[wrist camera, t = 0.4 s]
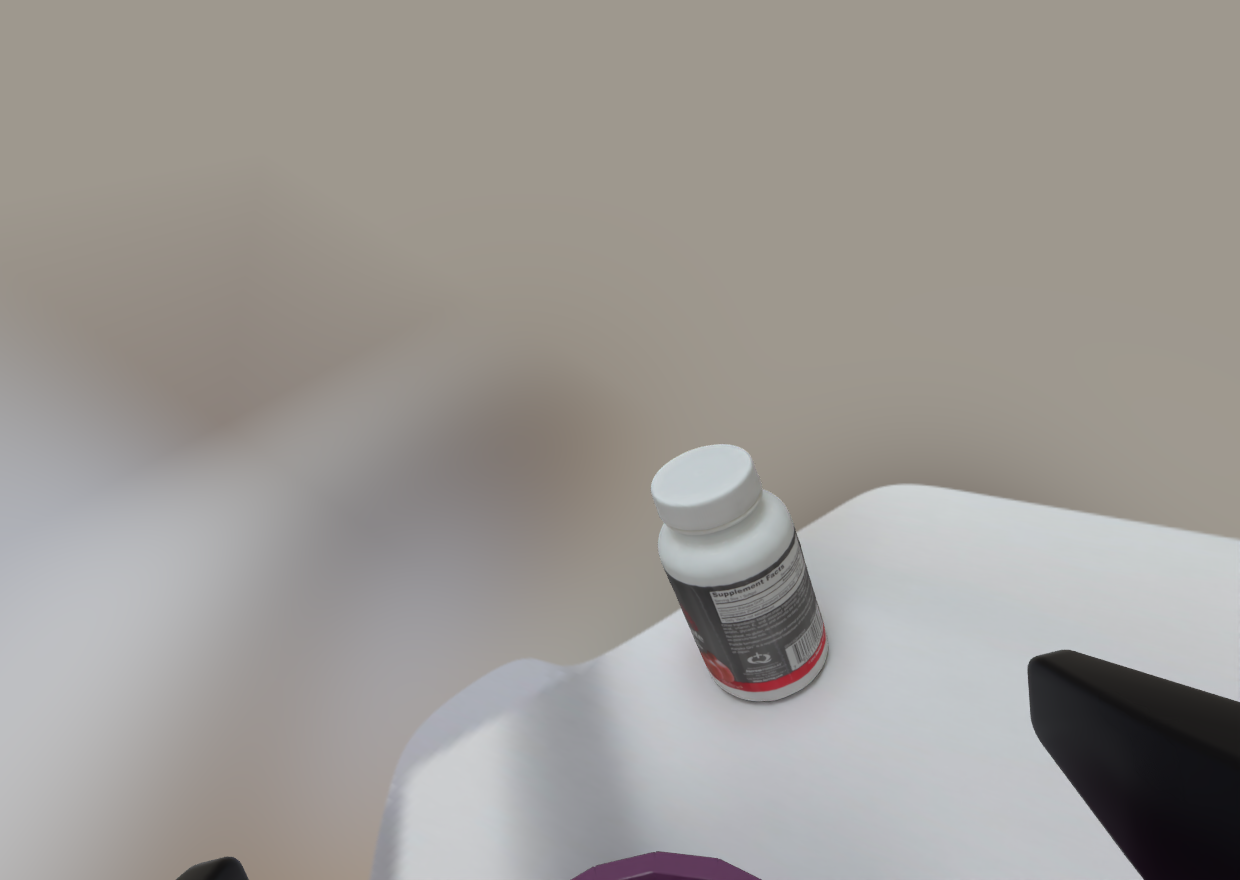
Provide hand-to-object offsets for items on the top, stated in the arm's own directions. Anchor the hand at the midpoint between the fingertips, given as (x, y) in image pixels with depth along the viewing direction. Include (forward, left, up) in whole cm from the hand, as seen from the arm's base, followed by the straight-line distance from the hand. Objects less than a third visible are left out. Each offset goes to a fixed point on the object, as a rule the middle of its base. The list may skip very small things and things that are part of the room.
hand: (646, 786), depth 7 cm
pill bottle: (+15, -6, -16) cm, 22 cm away
